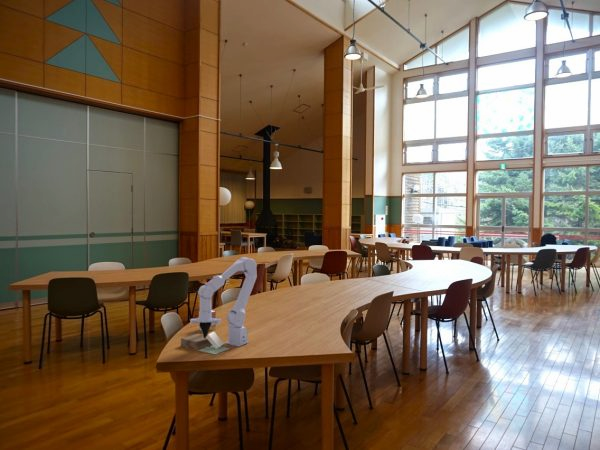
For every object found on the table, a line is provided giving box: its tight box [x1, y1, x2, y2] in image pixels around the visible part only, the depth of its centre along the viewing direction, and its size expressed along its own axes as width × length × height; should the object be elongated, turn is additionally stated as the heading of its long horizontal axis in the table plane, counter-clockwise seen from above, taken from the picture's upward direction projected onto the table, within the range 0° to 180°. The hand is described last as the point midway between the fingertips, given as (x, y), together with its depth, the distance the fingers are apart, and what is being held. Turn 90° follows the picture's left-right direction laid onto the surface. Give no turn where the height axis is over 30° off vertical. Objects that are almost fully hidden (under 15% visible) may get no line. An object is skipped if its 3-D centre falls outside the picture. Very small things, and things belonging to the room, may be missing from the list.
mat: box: [199, 345, 230, 355], centre depth 206 cm, size 10×10×1 cm
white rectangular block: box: [206, 330, 225, 350], centre depth 208 cm, size 8×6×2 cm
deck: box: [180, 333, 213, 351], centre depth 212 cm, size 12×10×4 cm
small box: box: [198, 309, 217, 332], centre depth 241 cm, size 8×6×10 cm
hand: (205, 337), depth 209 cm, fingers closed
